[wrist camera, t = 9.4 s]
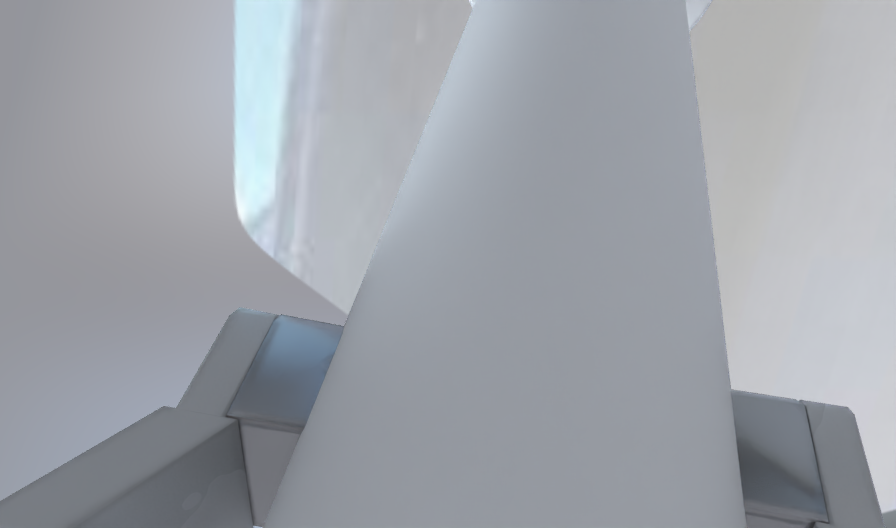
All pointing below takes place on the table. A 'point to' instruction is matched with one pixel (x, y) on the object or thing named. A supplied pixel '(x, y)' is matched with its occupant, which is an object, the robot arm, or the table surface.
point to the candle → (538, 298)
